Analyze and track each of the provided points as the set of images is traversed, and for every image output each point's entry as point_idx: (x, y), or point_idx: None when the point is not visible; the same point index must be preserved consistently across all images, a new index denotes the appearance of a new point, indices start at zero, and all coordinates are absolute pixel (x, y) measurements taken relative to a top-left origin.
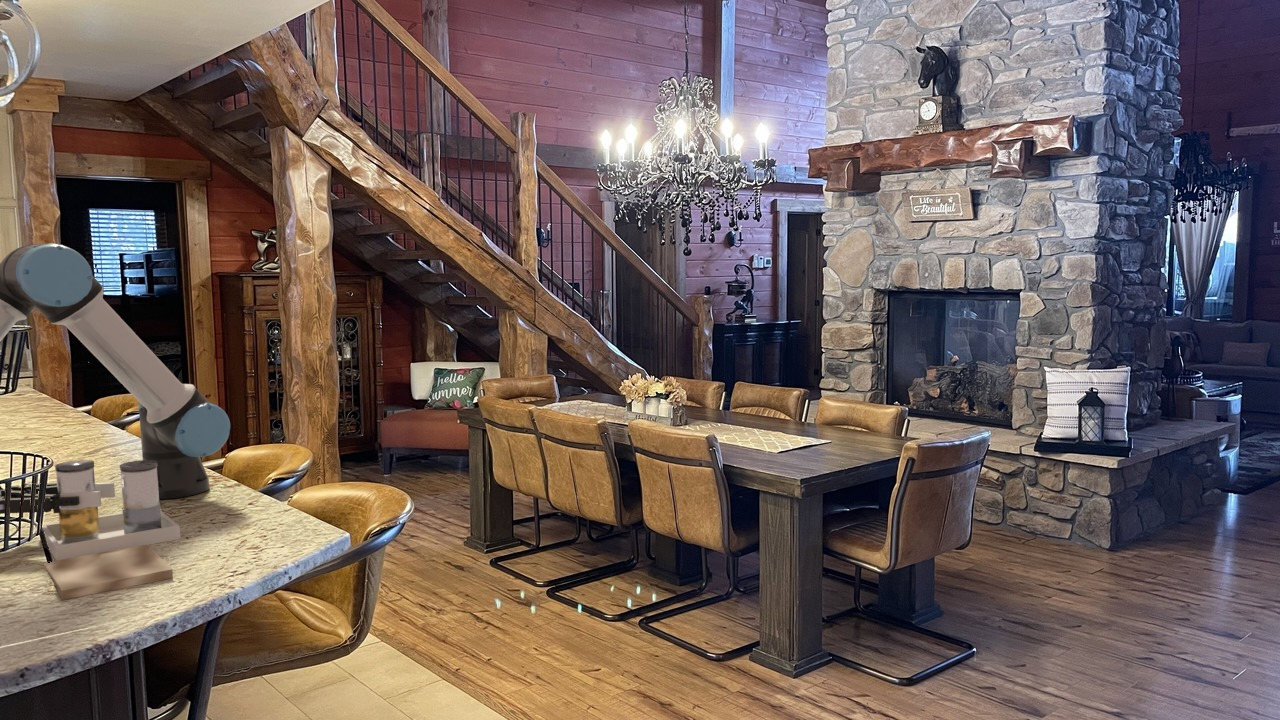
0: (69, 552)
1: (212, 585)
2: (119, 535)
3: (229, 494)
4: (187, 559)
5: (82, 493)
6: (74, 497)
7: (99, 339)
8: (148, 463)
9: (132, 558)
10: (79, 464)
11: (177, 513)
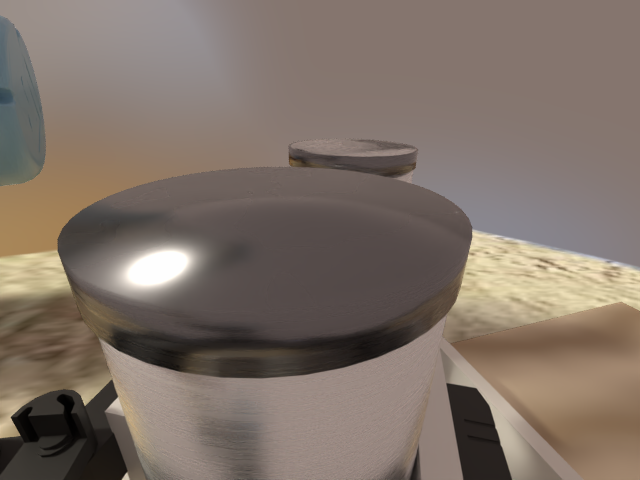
0: None
1: (618, 281)
2: (469, 371)
3: (10, 271)
4: (484, 306)
5: (439, 350)
6: (474, 400)
7: None
8: (358, 142)
9: (575, 361)
10: (338, 188)
11: (72, 333)
